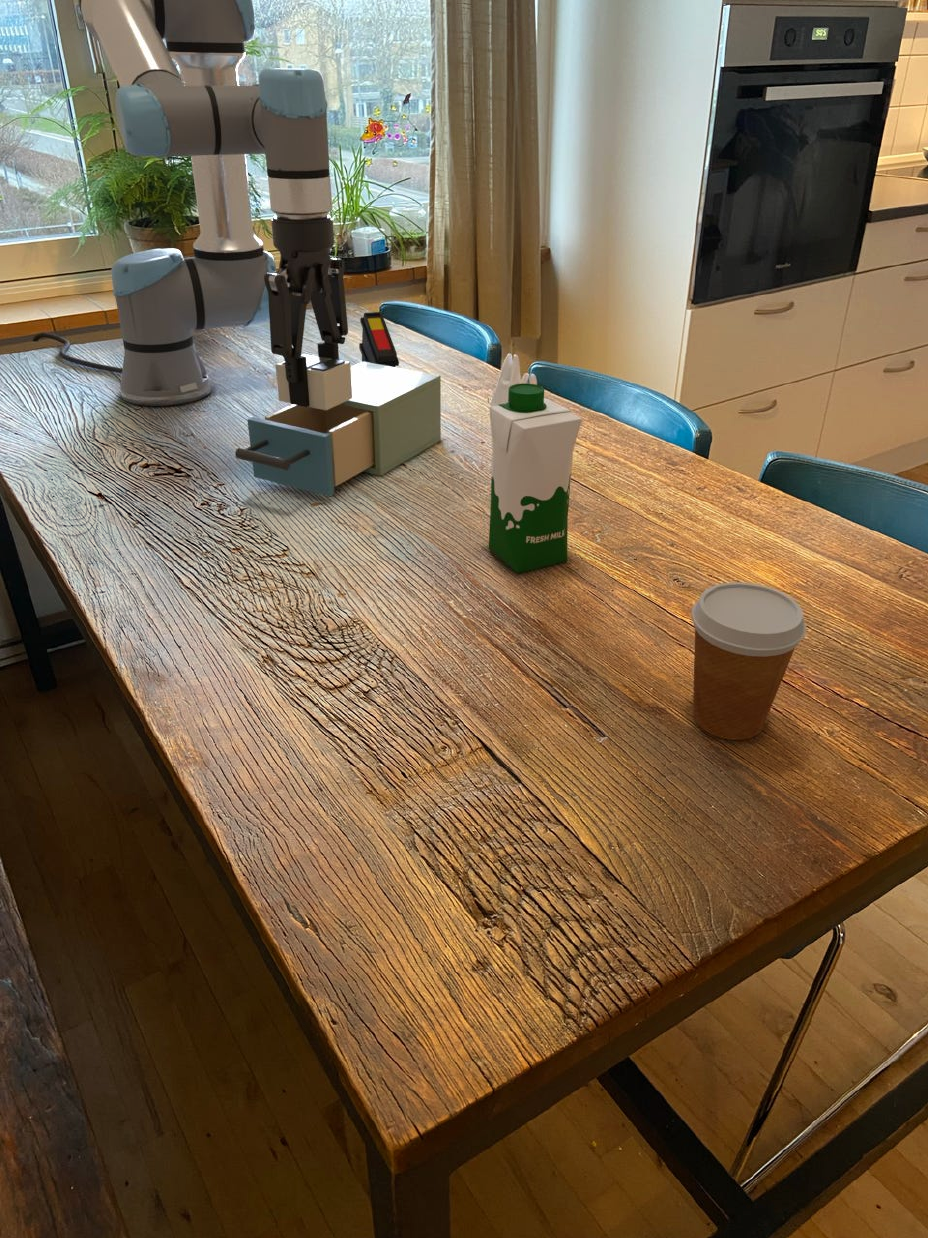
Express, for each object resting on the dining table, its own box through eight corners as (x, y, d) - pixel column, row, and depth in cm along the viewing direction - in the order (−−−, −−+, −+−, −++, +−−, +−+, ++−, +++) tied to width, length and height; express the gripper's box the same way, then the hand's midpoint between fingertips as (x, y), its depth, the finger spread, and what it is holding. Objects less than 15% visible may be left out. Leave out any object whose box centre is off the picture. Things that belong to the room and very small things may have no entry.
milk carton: (539, 533, 116) (548, 377, 105) (578, 563, 109) (593, 400, 99) (478, 547, 112) (482, 387, 102) (515, 579, 106) (523, 412, 95)
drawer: (302, 512, 118) (297, 450, 114) (225, 491, 124) (217, 431, 119) (393, 459, 134) (391, 403, 130) (321, 442, 139) (317, 388, 135)
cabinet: (380, 476, 131) (378, 406, 126) (301, 456, 137) (295, 389, 132) (440, 440, 144) (440, 375, 138) (365, 424, 150) (362, 361, 144)
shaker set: (488, 414, 154) (490, 348, 148) (511, 411, 156) (513, 346, 150) (518, 438, 145) (521, 368, 139) (542, 435, 146) (546, 366, 140)
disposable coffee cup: (662, 690, 87) (679, 581, 81) (759, 686, 88) (783, 577, 82) (692, 755, 79) (713, 639, 73) (798, 749, 80) (828, 634, 74)
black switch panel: (376, 379, 165) (382, 310, 152) (394, 431, 158) (402, 363, 146) (355, 380, 164) (360, 311, 151) (373, 433, 157) (379, 365, 145)
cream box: (278, 400, 124) (274, 362, 121) (306, 389, 129) (303, 351, 126) (326, 410, 121) (323, 371, 118) (352, 398, 125) (350, 360, 122)
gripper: (323, 203, 121) (334, 375, 133) (225, 221, 107) (247, 412, 119) (370, 207, 118) (377, 384, 130) (275, 226, 104) (293, 422, 116)
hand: (315, 397), depth 125 cm, fingers closed on cream box, 6 cm apart
